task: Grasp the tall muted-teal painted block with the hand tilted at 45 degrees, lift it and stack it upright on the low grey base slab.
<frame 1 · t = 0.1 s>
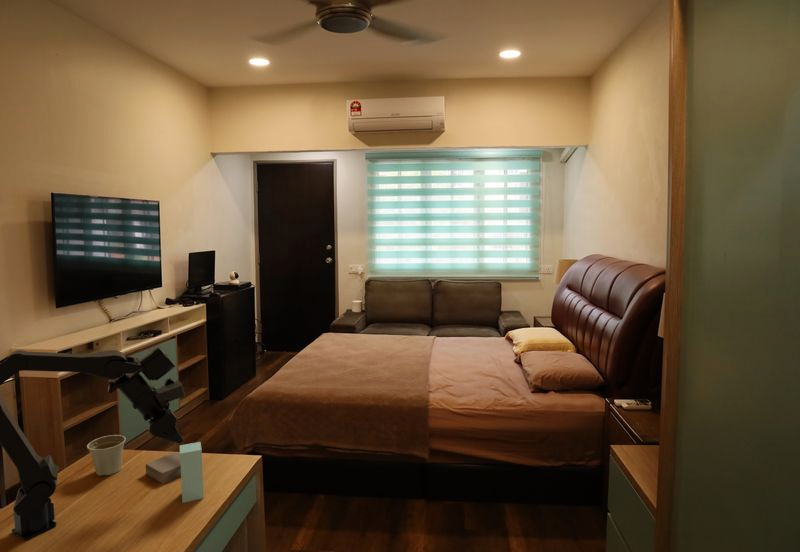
hand: (178, 435, 127), 15 cm above the table, tool tilted 35°, fingers open, 9 cm apart
flower pot: (108, 471, 139), on the table
pillar: (192, 495, 126), on the table
base slab: (170, 472, 138), on the table
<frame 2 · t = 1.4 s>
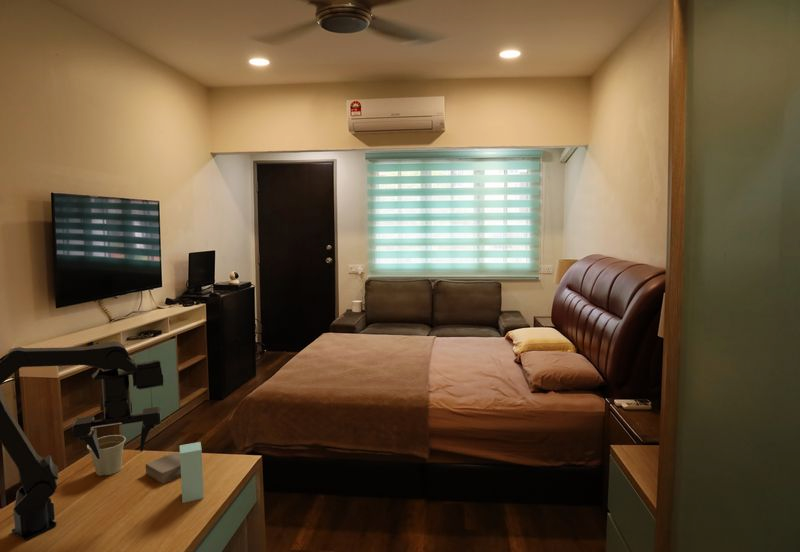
hand: (120, 454, 121), 13 cm above the table, tool pointing down, fingers open, 9 cm apart
nothing on the table moved.
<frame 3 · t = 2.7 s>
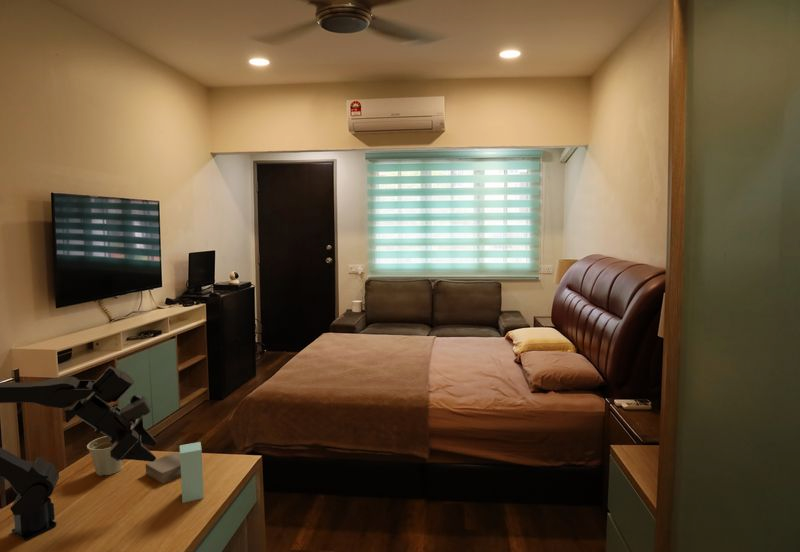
hand: (155, 451, 121), 13 cm above the table, tool tilted 45°, fingers open, 9 cm apart
nothing on the table moved.
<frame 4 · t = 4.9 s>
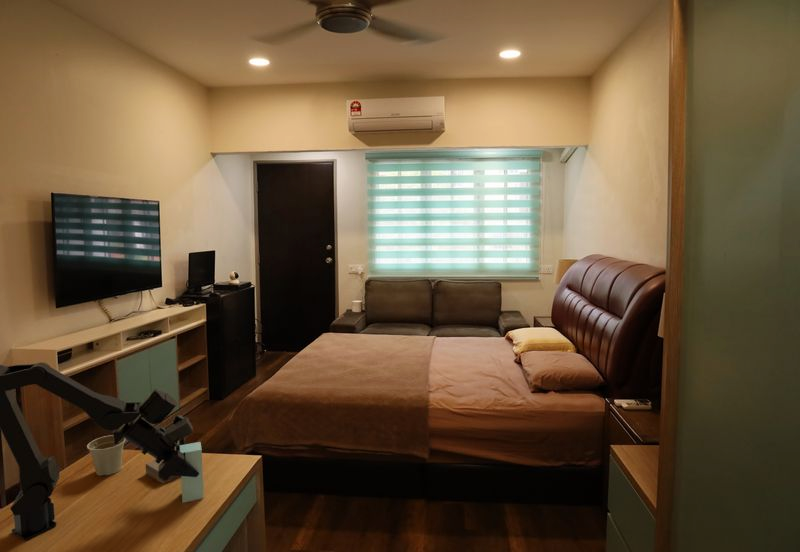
hand: (197, 470, 126), 7 cm above the table, tool tilted 45°, fingers closed on pillar, 5 cm apart
pillar: (192, 495, 126), on the table, touching gripper
everything else where it was.
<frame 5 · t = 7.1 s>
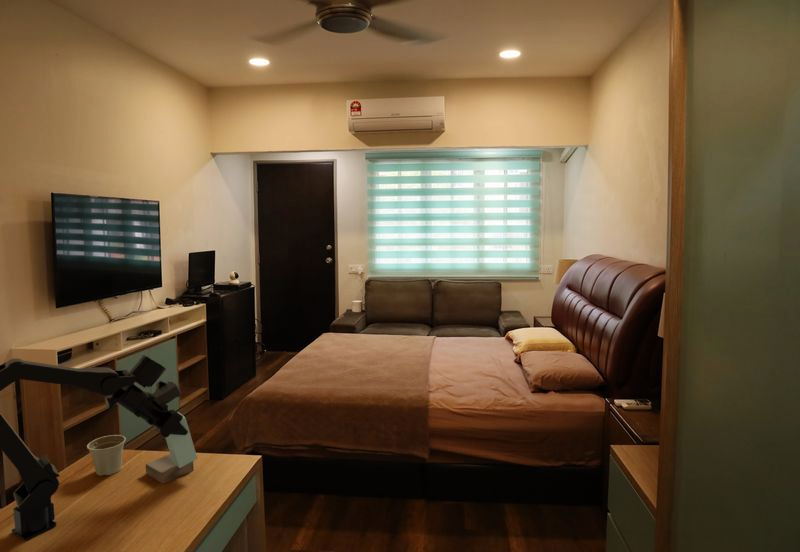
hand: (183, 430, 134), 13 cm above the table, tool tilted 45°, fingers closed on pillar, 5 cm apart
pillar: (185, 460, 135), point 5 cm above the table, tilted 12°, touching gripper
everything else where it was.
when the fingers open (11 cm above the table, at t = 8.4 s): pillar stays where it is, resting on base slab.
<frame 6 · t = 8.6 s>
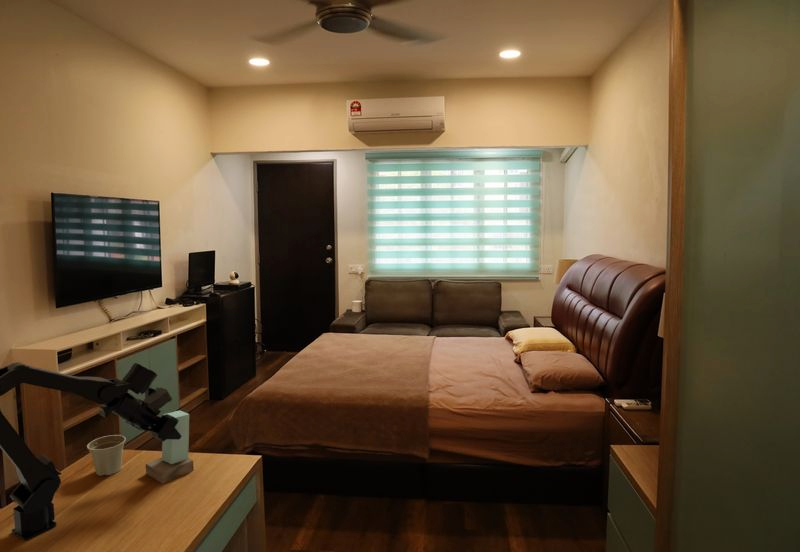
hand: (173, 434, 138), 11 cm above the table, tool tilted 45°, fingers open, 7 cm apart
pillar: (175, 459, 139), point 3 cm above the table, touching base slab
everything else where it was.
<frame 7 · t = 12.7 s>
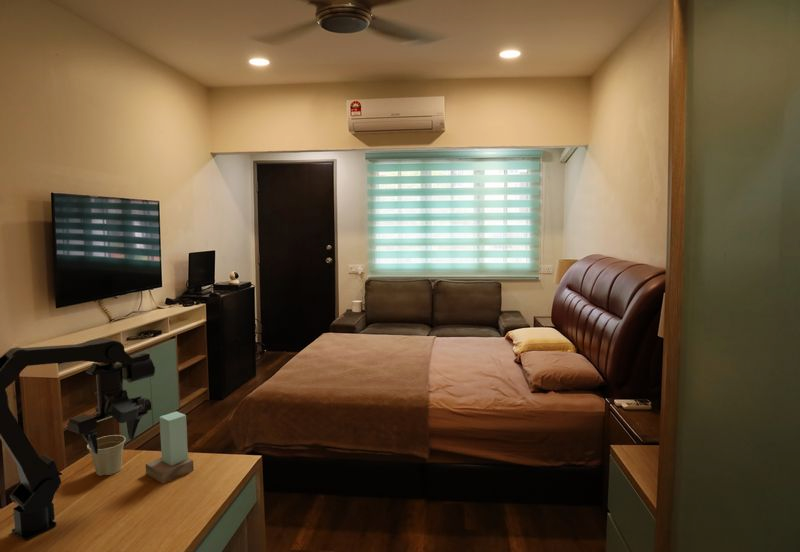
hand: (114, 446, 125), 13 cm above the table, tool pointing down, fingers open, 9 cm apart
at the end: pillar inside the target area on the base slab (1.6 cm from its centre), point 3.0 cm above the base slab's base; pillar tilted 0°; the gripper is holding nothing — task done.
